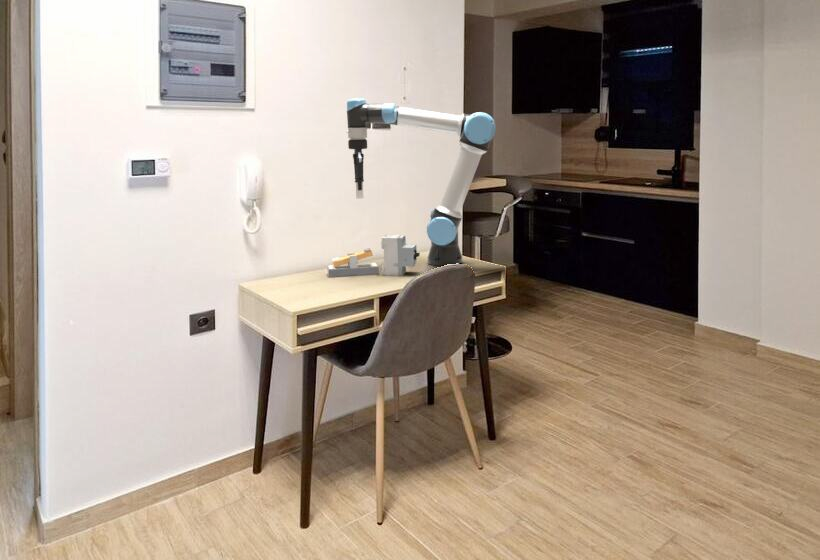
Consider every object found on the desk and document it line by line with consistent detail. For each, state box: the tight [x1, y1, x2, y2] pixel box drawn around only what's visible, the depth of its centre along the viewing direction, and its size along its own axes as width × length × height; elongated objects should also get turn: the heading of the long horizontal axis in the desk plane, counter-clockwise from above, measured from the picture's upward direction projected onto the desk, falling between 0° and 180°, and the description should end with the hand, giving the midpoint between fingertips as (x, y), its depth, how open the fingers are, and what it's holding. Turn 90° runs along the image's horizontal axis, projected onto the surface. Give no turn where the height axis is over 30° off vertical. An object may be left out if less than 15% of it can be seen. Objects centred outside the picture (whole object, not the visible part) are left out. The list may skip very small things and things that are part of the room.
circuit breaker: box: [380, 234, 421, 277], centre depth 257 cm, size 8×14×15 cm, turn 78°
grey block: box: [326, 252, 380, 278], centre depth 259 cm, size 20×7×8 cm, turn 101°
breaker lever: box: [331, 248, 374, 267], centre depth 259 cm, size 16×5×3 cm, turn 99°
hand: (359, 198), depth 263 cm, fingers closed
